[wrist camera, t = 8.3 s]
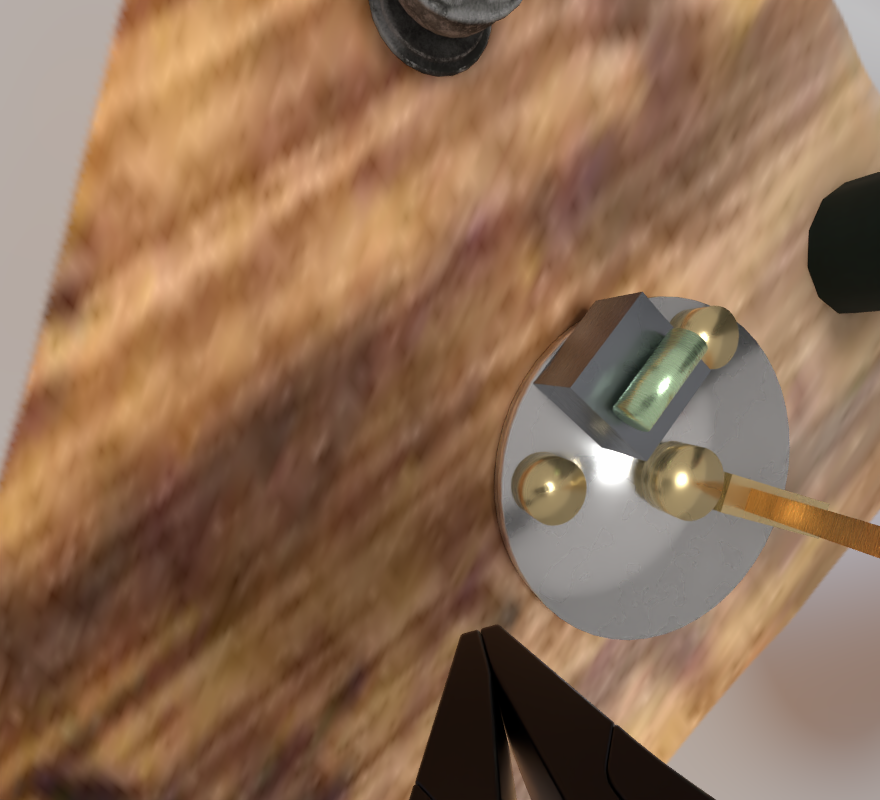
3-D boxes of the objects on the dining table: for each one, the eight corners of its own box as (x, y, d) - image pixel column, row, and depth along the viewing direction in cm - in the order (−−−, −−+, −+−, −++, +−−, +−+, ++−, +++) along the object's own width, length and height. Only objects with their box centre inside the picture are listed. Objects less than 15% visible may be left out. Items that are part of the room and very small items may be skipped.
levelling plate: (653, 683, 25) (746, 770, 20) (420, 512, 20) (460, 568, 15) (816, 436, 27) (941, 455, 22) (641, 224, 22) (748, 181, 17)
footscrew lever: (631, 502, 22) (886, 617, 12) (652, 433, 22) (924, 493, 12) (791, 543, 25) (1085, 657, 16) (809, 483, 25) (1115, 561, 16)
